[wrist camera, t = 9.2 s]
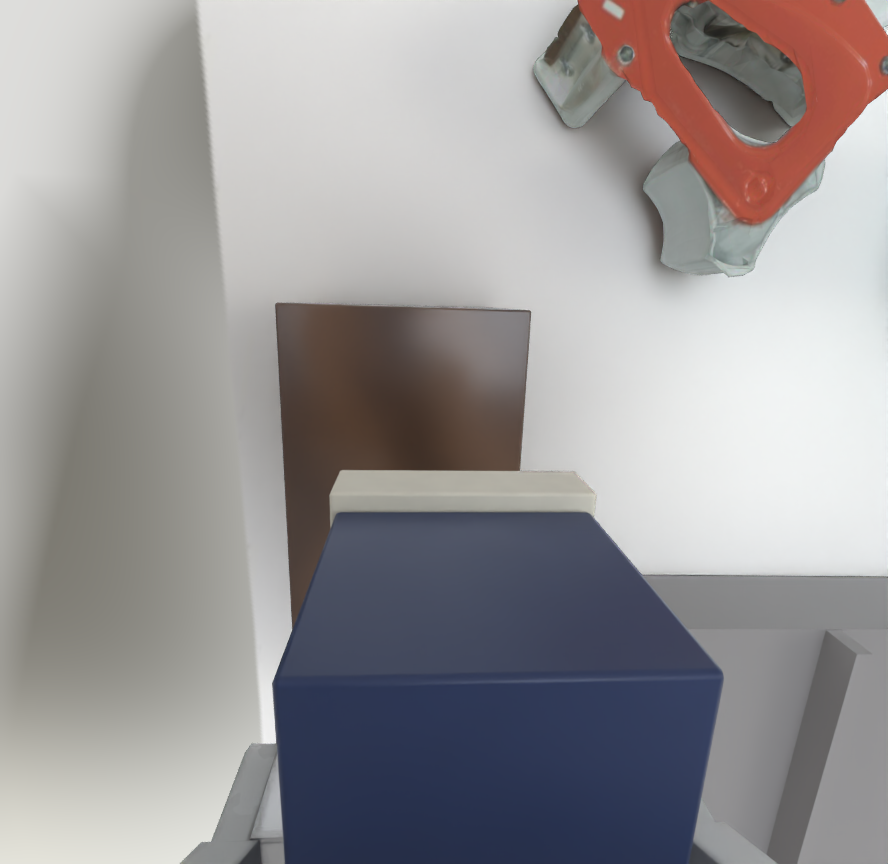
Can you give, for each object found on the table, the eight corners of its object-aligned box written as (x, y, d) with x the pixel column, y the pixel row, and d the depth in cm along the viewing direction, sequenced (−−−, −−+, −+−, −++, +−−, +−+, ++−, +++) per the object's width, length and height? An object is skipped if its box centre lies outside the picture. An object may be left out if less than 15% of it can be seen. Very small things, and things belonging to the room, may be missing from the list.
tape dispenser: (952, -95, 24) (541, -152, 21) (1112, -214, 18) (593, -307, 16) (881, 292, 27) (522, 282, 25) (999, 283, 22) (560, 270, 19)
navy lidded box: (339, 469, 9) (254, 653, 4) (575, 470, 9) (745, 644, 5) (351, 878, 12) (305, 1289, 7) (537, 870, 12) (622, 1260, 7)
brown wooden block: (328, 647, 30) (299, 767, 22) (318, 302, 25) (274, 302, 17) (478, 645, 30) (499, 761, 23) (496, 308, 26) (531, 310, 18)
